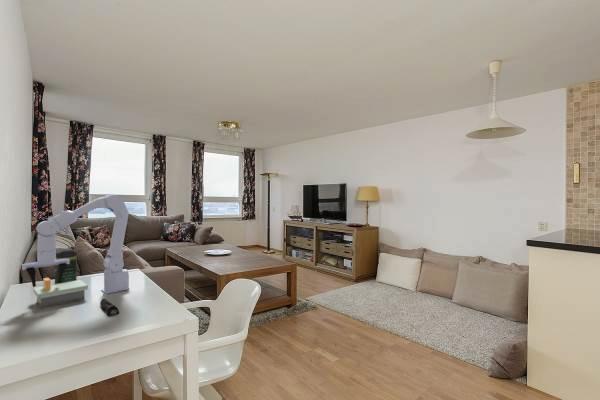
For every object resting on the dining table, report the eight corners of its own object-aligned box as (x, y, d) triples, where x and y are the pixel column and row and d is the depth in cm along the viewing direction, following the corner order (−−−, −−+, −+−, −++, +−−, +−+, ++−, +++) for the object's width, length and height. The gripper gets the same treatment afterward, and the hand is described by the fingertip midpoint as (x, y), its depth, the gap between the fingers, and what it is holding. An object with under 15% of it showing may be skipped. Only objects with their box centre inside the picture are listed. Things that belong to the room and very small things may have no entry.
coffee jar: (78, 288, 140) (78, 249, 140) (57, 292, 134) (56, 251, 134) (73, 284, 147) (73, 246, 146) (53, 287, 141) (53, 248, 140)
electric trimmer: (108, 304, 121) (108, 296, 121) (119, 314, 110) (119, 306, 110) (97, 306, 119) (97, 298, 119) (108, 317, 108) (108, 308, 108)
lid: (80, 283, 134) (80, 270, 134) (87, 289, 126) (87, 275, 126) (33, 292, 122) (33, 278, 122) (38, 298, 114) (38, 283, 114)
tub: (78, 293, 133) (78, 282, 132) (84, 298, 126) (84, 287, 126) (36, 301, 122) (36, 289, 122) (40, 308, 115) (40, 295, 115)
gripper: (66, 247, 128) (66, 278, 129) (21, 251, 118) (21, 286, 118) (70, 249, 124) (70, 281, 124) (23, 254, 113) (23, 289, 113)
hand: (46, 284), depth 120 cm, fingers open, 7 cm apart
